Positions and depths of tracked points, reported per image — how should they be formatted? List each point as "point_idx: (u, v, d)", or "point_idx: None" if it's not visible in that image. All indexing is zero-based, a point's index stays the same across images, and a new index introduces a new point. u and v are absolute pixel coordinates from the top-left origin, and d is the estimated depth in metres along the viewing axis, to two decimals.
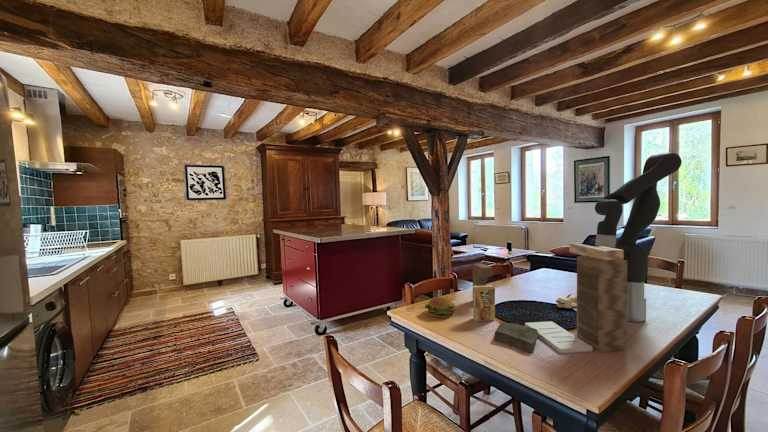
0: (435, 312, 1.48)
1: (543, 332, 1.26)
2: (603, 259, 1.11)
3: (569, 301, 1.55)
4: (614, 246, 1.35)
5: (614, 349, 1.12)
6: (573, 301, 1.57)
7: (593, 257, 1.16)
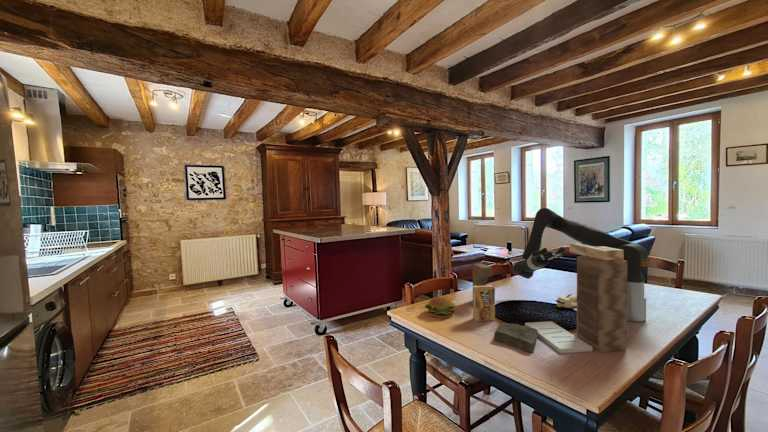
0: (435, 312, 1.48)
1: (543, 332, 1.26)
2: (603, 259, 1.11)
3: (569, 301, 1.55)
4: (530, 258, 1.60)
5: (614, 349, 1.12)
6: (573, 301, 1.57)
7: (593, 257, 1.16)
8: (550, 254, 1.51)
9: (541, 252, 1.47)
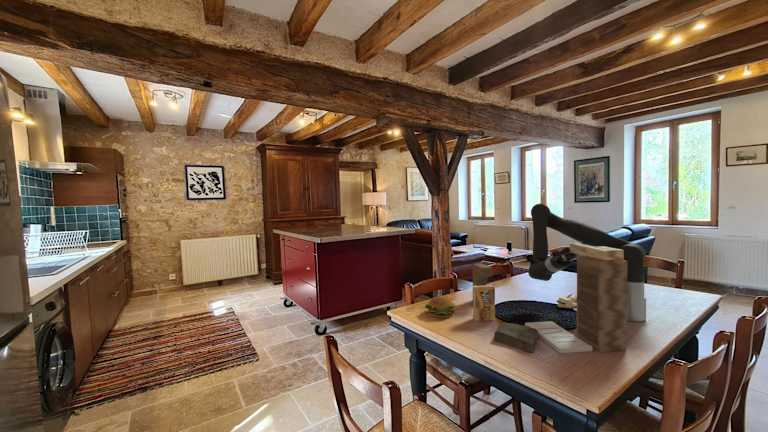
0: (435, 312, 1.48)
1: (543, 332, 1.26)
2: (603, 259, 1.11)
3: (570, 301, 1.55)
4: (549, 259, 1.43)
5: (614, 349, 1.12)
6: (574, 301, 1.57)
7: (593, 257, 1.16)
8: (573, 254, 1.33)
9: (563, 252, 1.30)
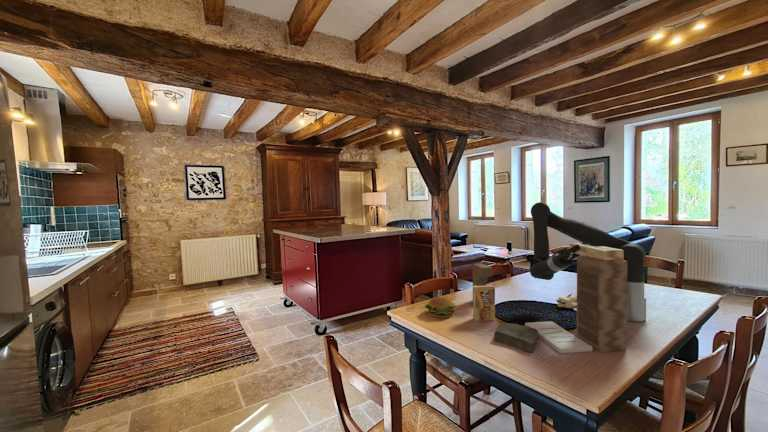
0: (435, 312, 1.48)
1: (543, 332, 1.26)
2: (603, 259, 1.11)
3: (570, 301, 1.55)
4: (551, 258, 1.41)
5: (614, 349, 1.12)
6: (574, 301, 1.57)
7: (593, 257, 1.16)
8: None
9: (572, 250, 1.27)
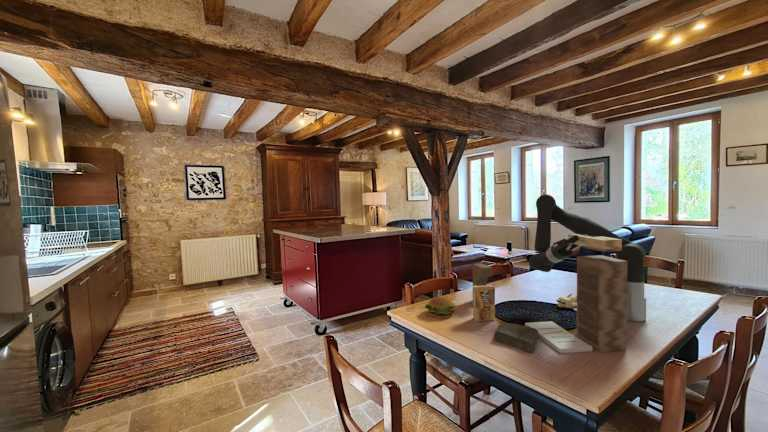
0: (435, 312, 1.48)
1: (543, 332, 1.26)
2: (601, 248, 1.11)
3: (570, 301, 1.55)
4: (550, 249, 1.41)
5: (614, 349, 1.12)
6: (574, 301, 1.57)
7: (592, 247, 1.16)
8: (574, 244, 1.32)
9: (571, 240, 1.28)
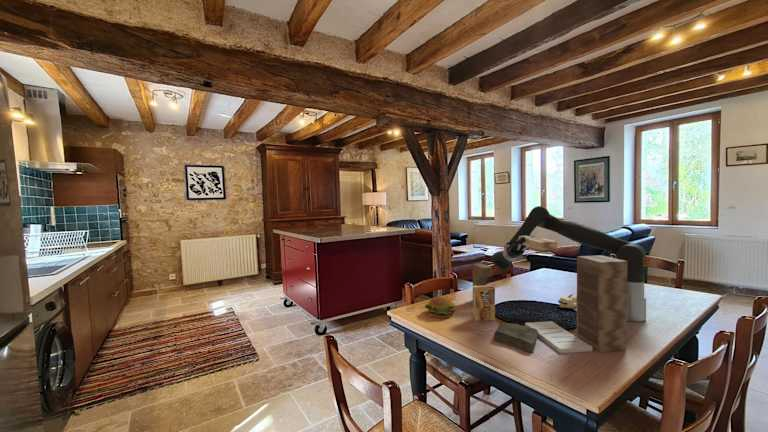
0: (435, 312, 1.48)
1: (543, 332, 1.26)
2: (539, 249, 1.27)
3: (571, 301, 1.55)
4: (505, 249, 1.57)
5: (614, 349, 1.12)
6: (575, 301, 1.57)
7: (533, 248, 1.32)
8: None
9: (519, 241, 1.43)
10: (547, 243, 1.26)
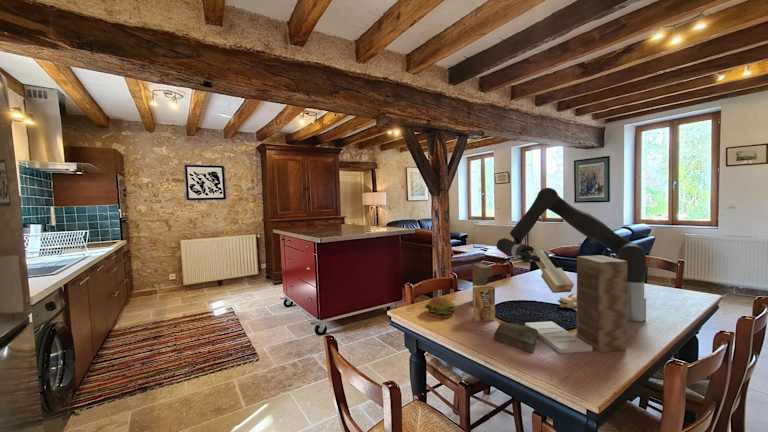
0: (435, 312, 1.48)
1: (543, 332, 1.26)
2: (552, 289, 1.19)
3: (571, 301, 1.55)
4: (515, 250, 1.47)
5: (614, 349, 1.12)
6: (575, 301, 1.57)
7: (546, 281, 1.23)
8: None
9: (533, 259, 1.33)
10: (563, 286, 1.17)
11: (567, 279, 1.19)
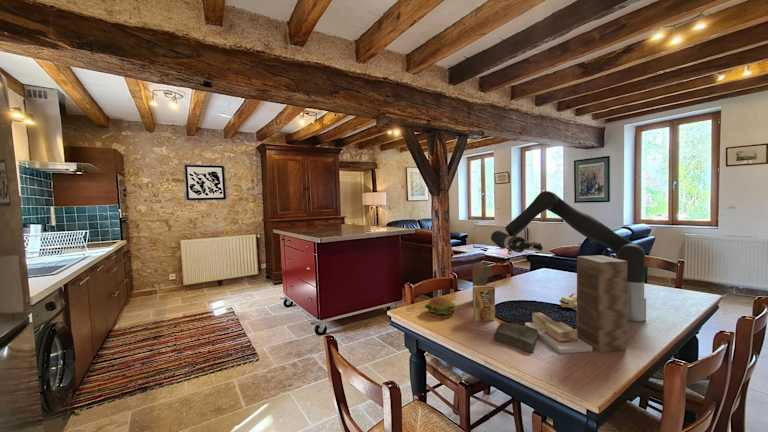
0: (435, 312, 1.48)
1: (543, 332, 1.26)
2: (558, 339, 1.17)
3: (573, 301, 1.55)
4: (508, 241, 1.59)
5: (614, 349, 1.12)
6: (576, 301, 1.57)
7: (550, 335, 1.22)
8: (527, 247, 1.49)
9: (518, 249, 1.45)
10: (566, 333, 1.16)
11: (569, 328, 1.19)
